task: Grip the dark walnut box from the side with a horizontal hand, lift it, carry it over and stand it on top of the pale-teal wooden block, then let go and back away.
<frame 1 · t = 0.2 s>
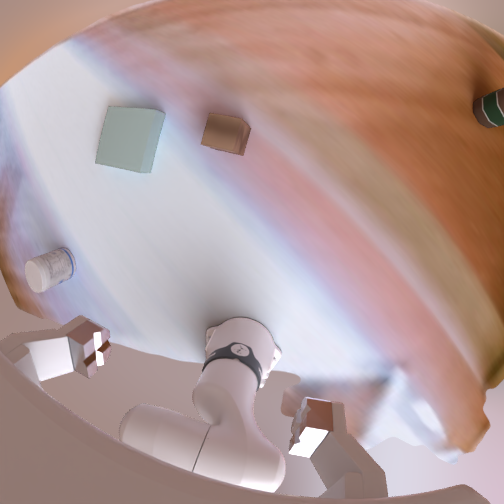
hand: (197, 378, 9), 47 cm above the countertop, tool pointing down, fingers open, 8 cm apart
walnut box: (233, 138, 52), on the countertop
beer bottle: (482, 113, 40), on the countertop
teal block: (134, 139, 56), on the countertop
supplement tub: (67, 262, 69), on the countertop
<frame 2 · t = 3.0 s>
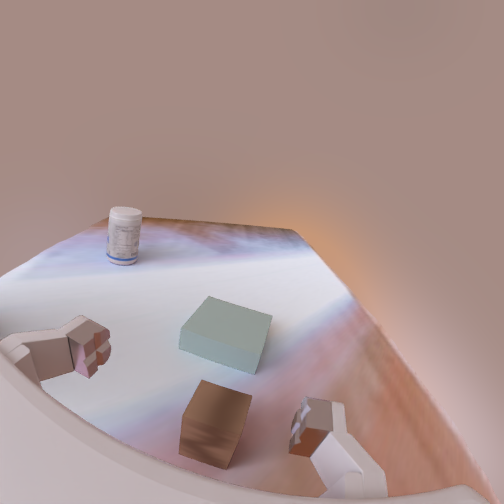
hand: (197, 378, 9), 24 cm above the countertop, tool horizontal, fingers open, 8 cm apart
walnut box: (209, 445, 28), on the countertop
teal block: (226, 342, 51), on the countertop
supplement tub: (121, 260, 73), on the countertop
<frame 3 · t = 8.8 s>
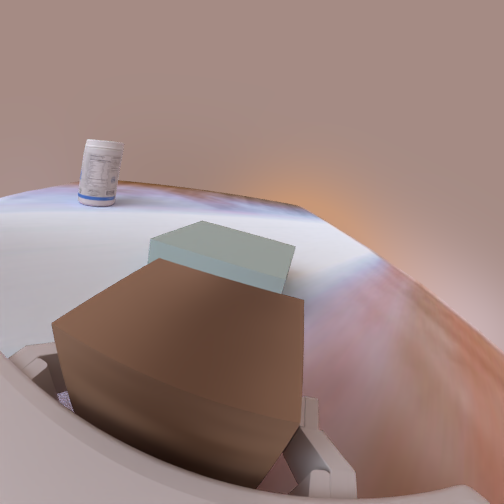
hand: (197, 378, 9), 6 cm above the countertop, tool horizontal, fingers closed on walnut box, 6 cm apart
walnut box: (181, 459, 10), on the countertop, touching gripper
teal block: (225, 281, 34), on the countertop
supplement tub: (95, 203, 56), on the countertop
when the fingers open (11 cm above the countertop, at t = 15.6 s): walnut box drops 1 cm, point 5 cm above the countertop.
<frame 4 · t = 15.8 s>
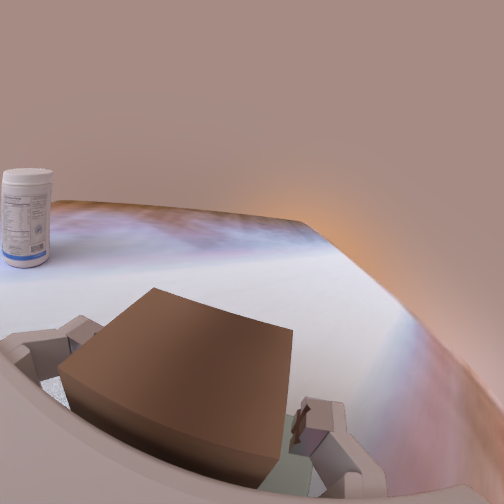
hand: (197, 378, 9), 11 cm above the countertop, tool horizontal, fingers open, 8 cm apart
walnut box: (179, 469, 10), point 5 cm above the countertop
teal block: (178, 494, 12), on the countertop
supplement tub: (26, 259, 34), on the countertop
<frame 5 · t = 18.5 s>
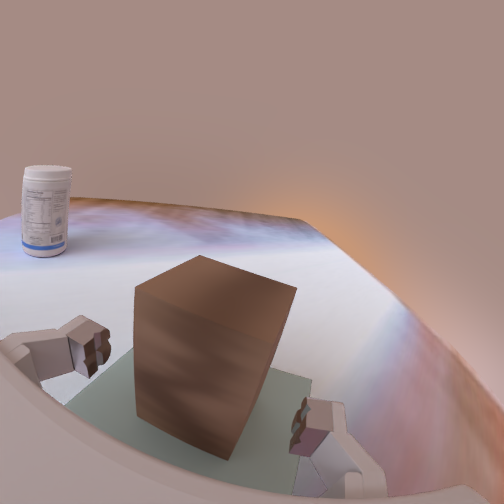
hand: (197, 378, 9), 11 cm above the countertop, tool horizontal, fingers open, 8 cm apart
walnut box: (201, 409, 15), point 5 cm above the countertop, touching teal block
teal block: (192, 445, 17), on the countertop, touching walnut box
supplement tub: (44, 250, 39), on the countertop
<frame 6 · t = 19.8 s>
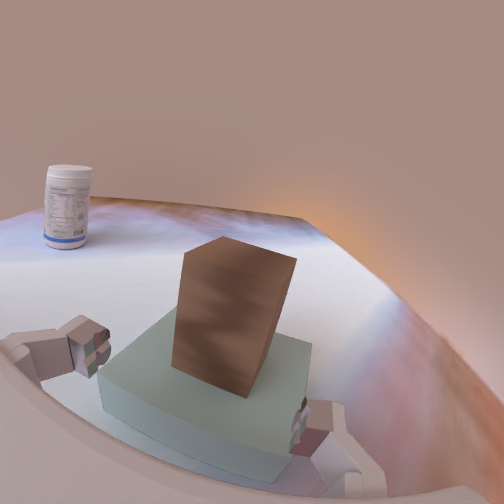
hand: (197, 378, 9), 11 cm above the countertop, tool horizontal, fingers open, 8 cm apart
walnut box: (222, 361, 21), point 5 cm above the countertop, touching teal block
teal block: (212, 399, 22), on the countertop, touching walnut box
supplement tub: (65, 243, 44), on the countertop
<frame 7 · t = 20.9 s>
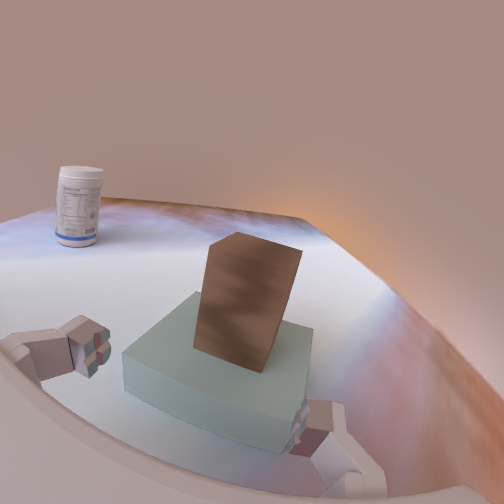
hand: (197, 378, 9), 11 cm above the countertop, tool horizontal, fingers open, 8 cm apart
walnut box: (237, 342, 24), point 5 cm above the countertop, touching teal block
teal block: (224, 380, 25), on the countertop, touching walnut box
supplement tub: (75, 241, 47), on the countertop
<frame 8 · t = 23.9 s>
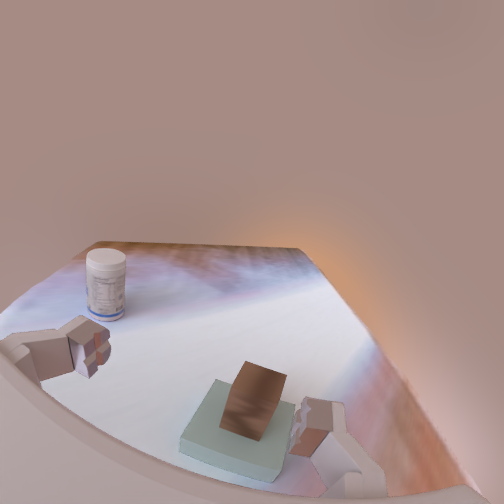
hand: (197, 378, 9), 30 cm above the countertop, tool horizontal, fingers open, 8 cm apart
walnut box: (245, 420, 35), point 5 cm above the countertop, touching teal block
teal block: (237, 438, 36), on the countertop, touching walnut box
supplement tub: (105, 312, 58), on the countertop
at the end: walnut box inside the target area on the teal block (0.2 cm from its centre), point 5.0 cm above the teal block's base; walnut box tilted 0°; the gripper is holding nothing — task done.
